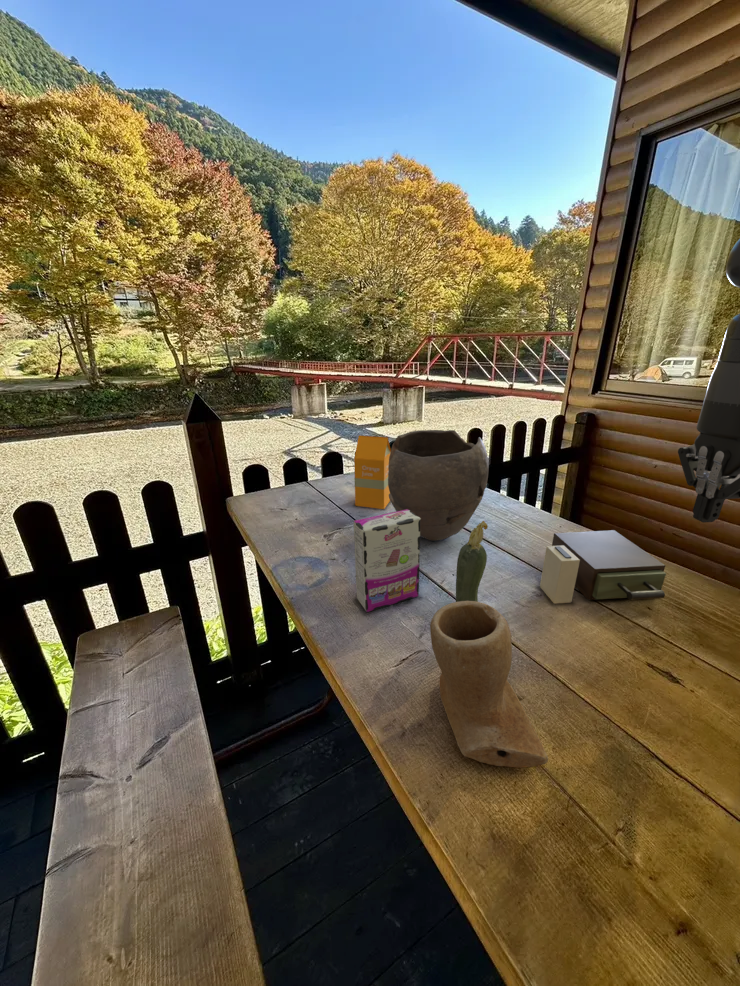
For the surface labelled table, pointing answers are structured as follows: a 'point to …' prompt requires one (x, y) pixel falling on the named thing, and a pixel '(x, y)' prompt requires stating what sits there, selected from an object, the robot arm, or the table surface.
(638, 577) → the drawer
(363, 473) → the orange juice
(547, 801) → the table surface
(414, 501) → the clay pot
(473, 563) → the vegetable
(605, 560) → the cabinet
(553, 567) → the slotted beige box
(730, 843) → the table surface
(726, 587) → the table surface
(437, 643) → the clay boot vessel
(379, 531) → the candy bar box
